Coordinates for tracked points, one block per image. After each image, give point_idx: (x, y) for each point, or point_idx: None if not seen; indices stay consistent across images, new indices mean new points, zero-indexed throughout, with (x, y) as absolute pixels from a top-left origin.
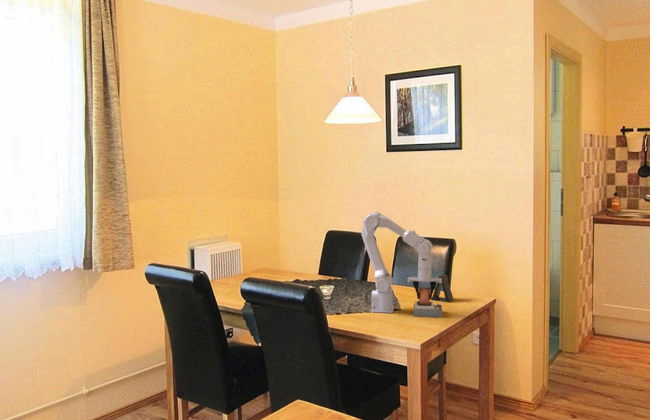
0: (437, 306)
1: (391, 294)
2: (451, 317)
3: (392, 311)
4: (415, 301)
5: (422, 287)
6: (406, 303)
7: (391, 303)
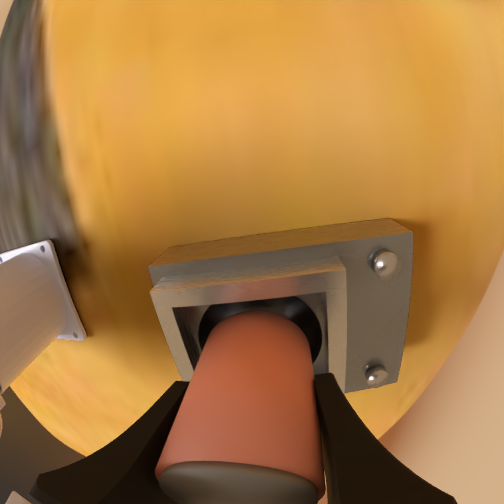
0: (377, 296)
1: (7, 369)
2: (434, 331)
3: (80, 334)
4: (157, 313)
5: (195, 489)
6: (88, 85)
7: (42, 335)
